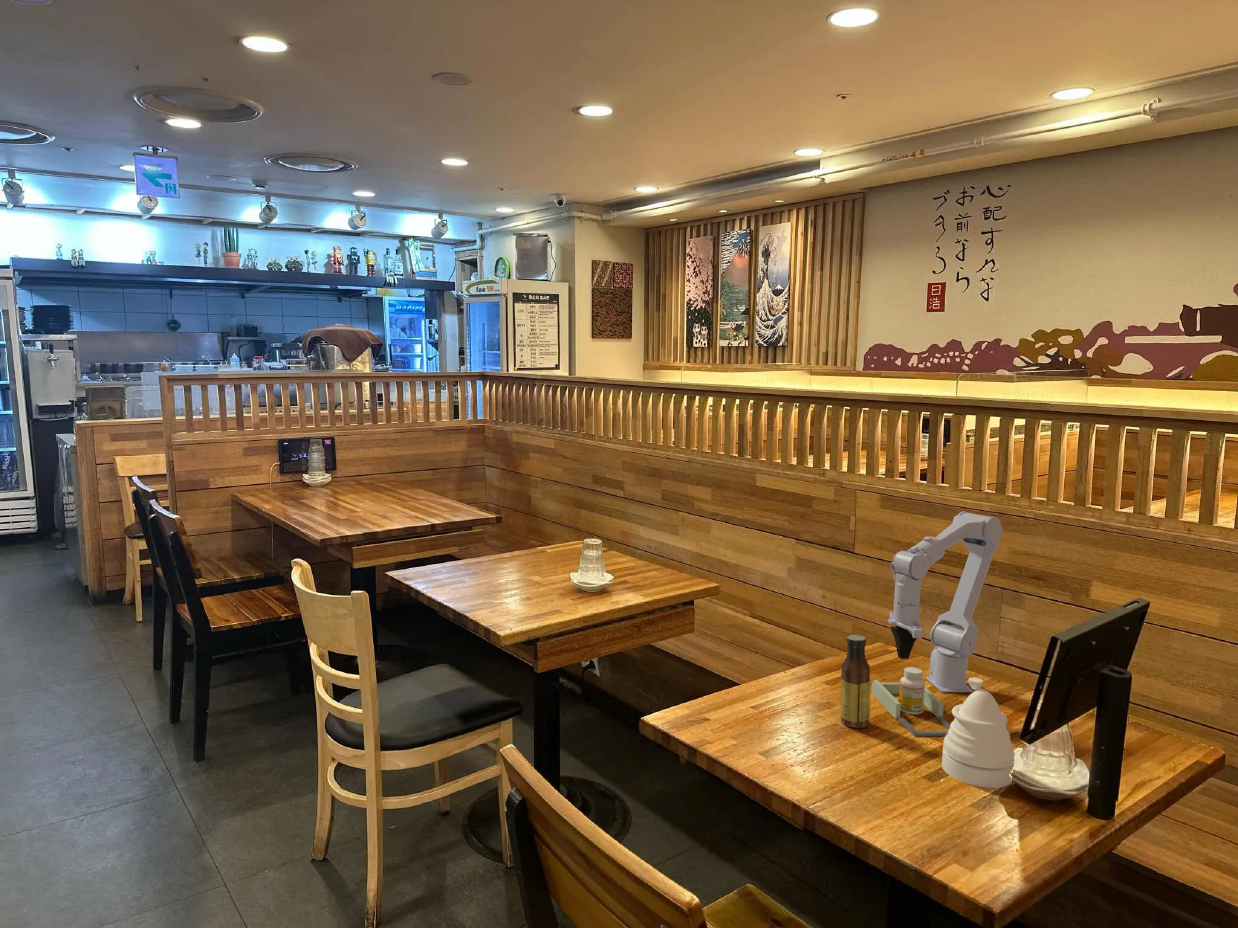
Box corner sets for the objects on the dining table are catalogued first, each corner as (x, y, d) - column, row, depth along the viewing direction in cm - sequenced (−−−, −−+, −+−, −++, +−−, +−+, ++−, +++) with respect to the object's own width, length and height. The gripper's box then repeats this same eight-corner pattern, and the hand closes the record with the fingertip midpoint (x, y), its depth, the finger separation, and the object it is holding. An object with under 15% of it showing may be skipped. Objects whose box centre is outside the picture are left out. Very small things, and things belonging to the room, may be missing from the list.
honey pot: (927, 761, 164) (933, 675, 162) (977, 752, 169) (983, 668, 167) (976, 792, 152) (982, 700, 150) (1028, 781, 157) (1035, 691, 155)
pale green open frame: (871, 692, 200) (872, 678, 199) (915, 692, 200) (915, 678, 200) (895, 718, 185) (896, 703, 184) (942, 718, 185) (943, 703, 185)
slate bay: (898, 719, 184) (898, 716, 184) (941, 719, 185) (941, 716, 185) (914, 736, 176) (914, 733, 176) (959, 735, 176) (959, 733, 176)
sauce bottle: (866, 718, 184) (870, 633, 182) (871, 730, 178) (877, 642, 176) (836, 716, 185) (841, 631, 183) (841, 728, 179) (846, 640, 176)
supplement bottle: (903, 703, 193) (906, 664, 192) (926, 709, 190) (929, 669, 189) (895, 710, 189) (897, 670, 188) (918, 717, 186) (921, 676, 185)
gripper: (878, 593, 200) (875, 647, 201) (902, 611, 185) (899, 668, 187) (906, 593, 200) (903, 647, 202) (932, 611, 186) (929, 668, 187)
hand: (903, 657), depth 194 cm, fingers closed
